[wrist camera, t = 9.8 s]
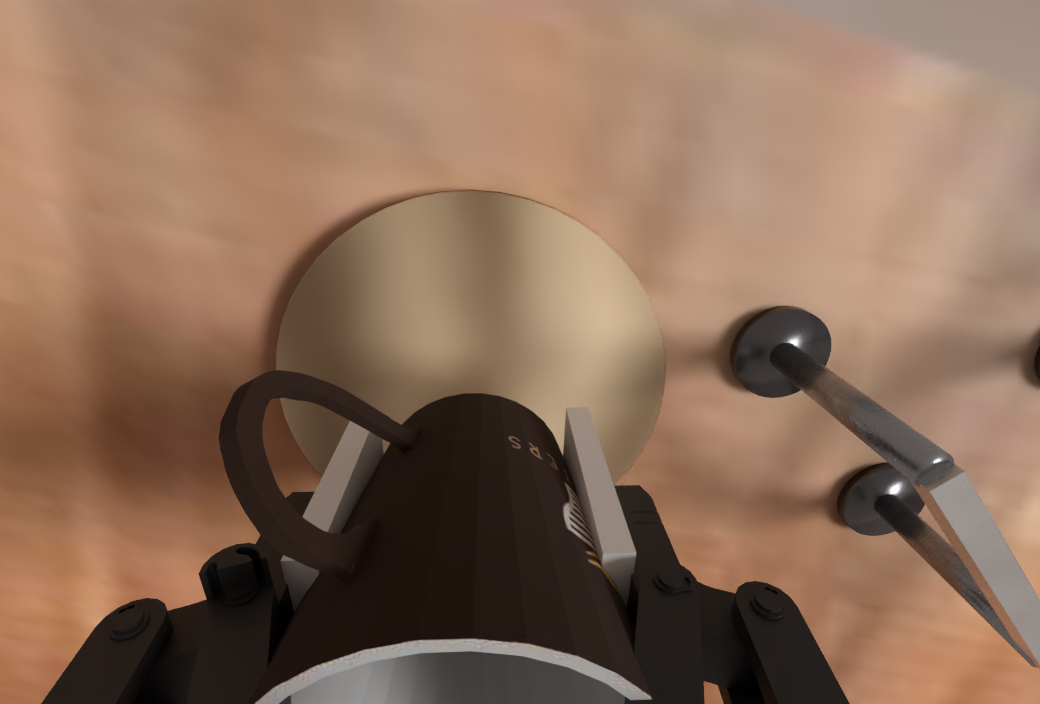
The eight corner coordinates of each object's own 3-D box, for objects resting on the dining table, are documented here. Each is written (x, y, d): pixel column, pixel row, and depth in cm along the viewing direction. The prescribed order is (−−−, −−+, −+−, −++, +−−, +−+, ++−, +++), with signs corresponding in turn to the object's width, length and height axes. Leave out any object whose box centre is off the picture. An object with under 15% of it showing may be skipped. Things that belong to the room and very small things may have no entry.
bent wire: (695, 531, 26) (791, 718, 18) (740, 306, 21) (899, 417, 13) (1030, 523, 27) (1270, 697, 19) (1145, 305, 22) (1536, 409, 14)
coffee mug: (590, 551, 20) (667, 892, 11) (374, 565, 20) (275, 925, 11) (597, 268, 16) (738, 458, 7) (317, 281, 16) (64, 497, 6)
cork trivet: (313, 532, 25) (307, 544, 24) (248, 187, 18) (238, 189, 18) (638, 524, 25) (642, 536, 25) (684, 192, 19) (692, 194, 18)
